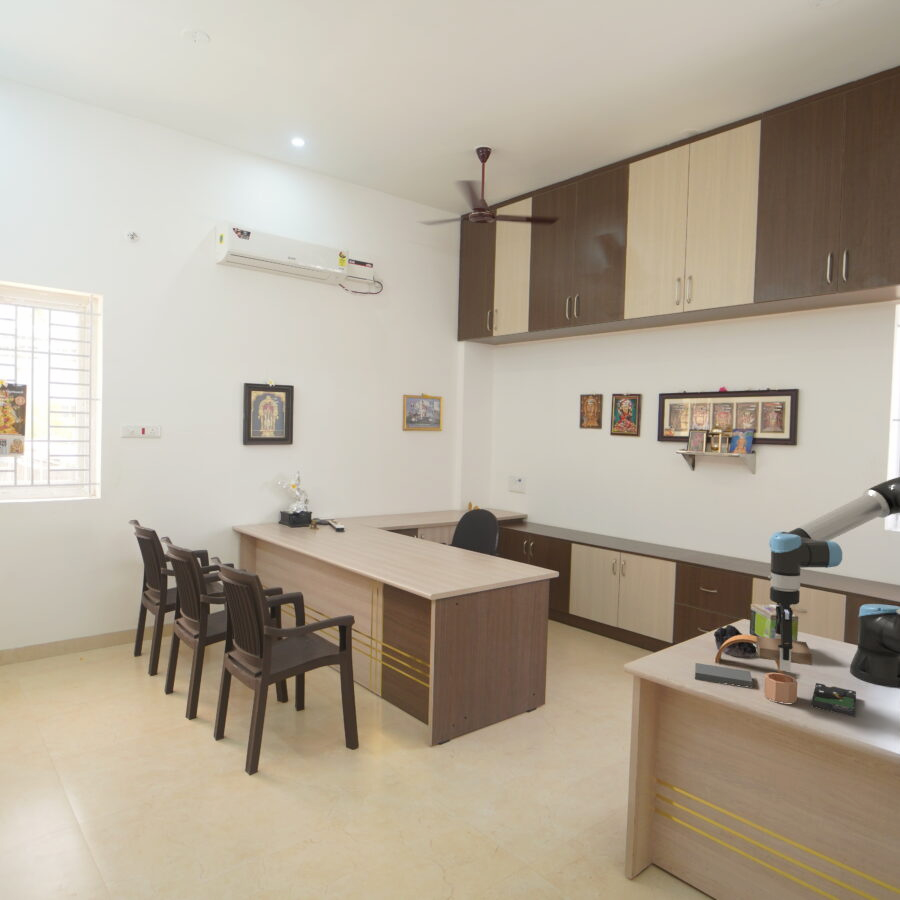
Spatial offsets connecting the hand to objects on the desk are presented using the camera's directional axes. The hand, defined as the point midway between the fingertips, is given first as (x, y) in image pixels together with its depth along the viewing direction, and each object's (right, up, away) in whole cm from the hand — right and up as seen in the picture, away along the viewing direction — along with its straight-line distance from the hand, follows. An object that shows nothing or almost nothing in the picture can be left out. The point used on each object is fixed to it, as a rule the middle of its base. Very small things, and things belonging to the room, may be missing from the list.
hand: (782, 663), depth 181 cm
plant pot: (-1, -10, 0) cm, 10 cm away
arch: (+2, -10, +24) cm, 27 cm away
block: (-11, -10, +14) cm, 20 cm away
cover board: (0, +2, 0) cm, 2 cm away
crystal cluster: (+4, -9, +39) cm, 41 cm away
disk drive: (+14, -11, -2) cm, 18 cm away
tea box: (+18, -10, +41) cm, 46 cm away
